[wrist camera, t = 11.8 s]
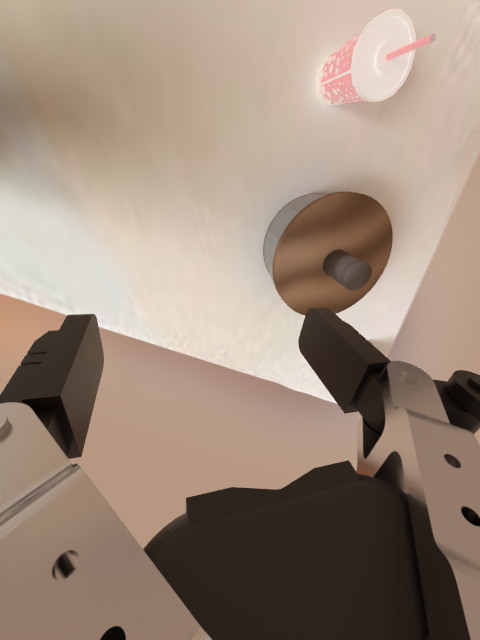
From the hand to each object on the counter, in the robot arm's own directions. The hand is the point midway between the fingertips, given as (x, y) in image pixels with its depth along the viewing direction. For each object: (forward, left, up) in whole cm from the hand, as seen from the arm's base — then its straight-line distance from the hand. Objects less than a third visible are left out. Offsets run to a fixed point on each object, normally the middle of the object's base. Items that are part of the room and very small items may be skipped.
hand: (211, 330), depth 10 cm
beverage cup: (-4, +24, -30) cm, 38 cm away
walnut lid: (+14, +16, -22) cm, 30 cm away
